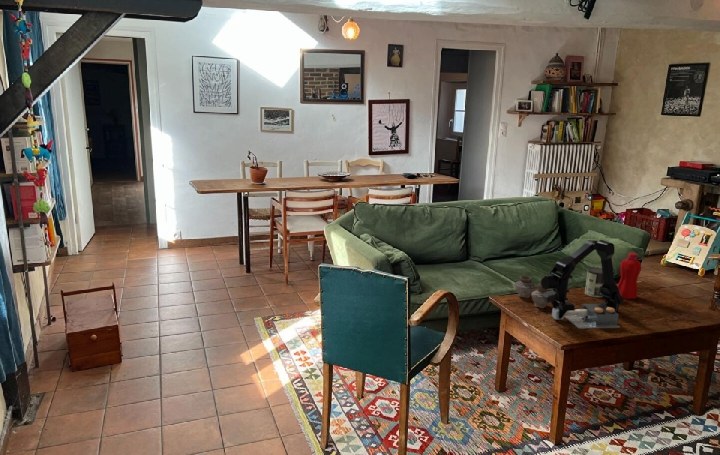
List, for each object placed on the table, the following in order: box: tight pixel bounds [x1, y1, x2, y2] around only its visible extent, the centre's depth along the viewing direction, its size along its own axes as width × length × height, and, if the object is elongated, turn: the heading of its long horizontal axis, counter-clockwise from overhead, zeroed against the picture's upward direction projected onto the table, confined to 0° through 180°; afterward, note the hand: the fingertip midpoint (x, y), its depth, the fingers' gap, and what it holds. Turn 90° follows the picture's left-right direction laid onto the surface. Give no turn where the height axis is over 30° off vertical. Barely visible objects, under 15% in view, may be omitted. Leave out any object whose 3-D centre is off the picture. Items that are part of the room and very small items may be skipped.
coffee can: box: [584, 266, 604, 298], centre depth 295 cm, size 10×10×14 cm
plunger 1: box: [594, 308, 603, 314], centre depth 256 cm, size 4×4×4 cm
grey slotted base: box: [563, 303, 621, 330], centre depth 260 cm, size 21×16×7 cm
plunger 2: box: [606, 307, 615, 313], centre depth 256 cm, size 4×4×4 cm
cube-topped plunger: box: [551, 307, 589, 320], centre depth 261 cm, size 20×4×4 cm, turn 97°
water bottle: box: [617, 252, 642, 300], centre depth 290 cm, size 9×11×25 cm
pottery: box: [514, 275, 548, 309], centre depth 284 cm, size 11×25×12 cm, turn 17°
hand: (557, 316), depth 261 cm, fingers open, 5 cm apart
